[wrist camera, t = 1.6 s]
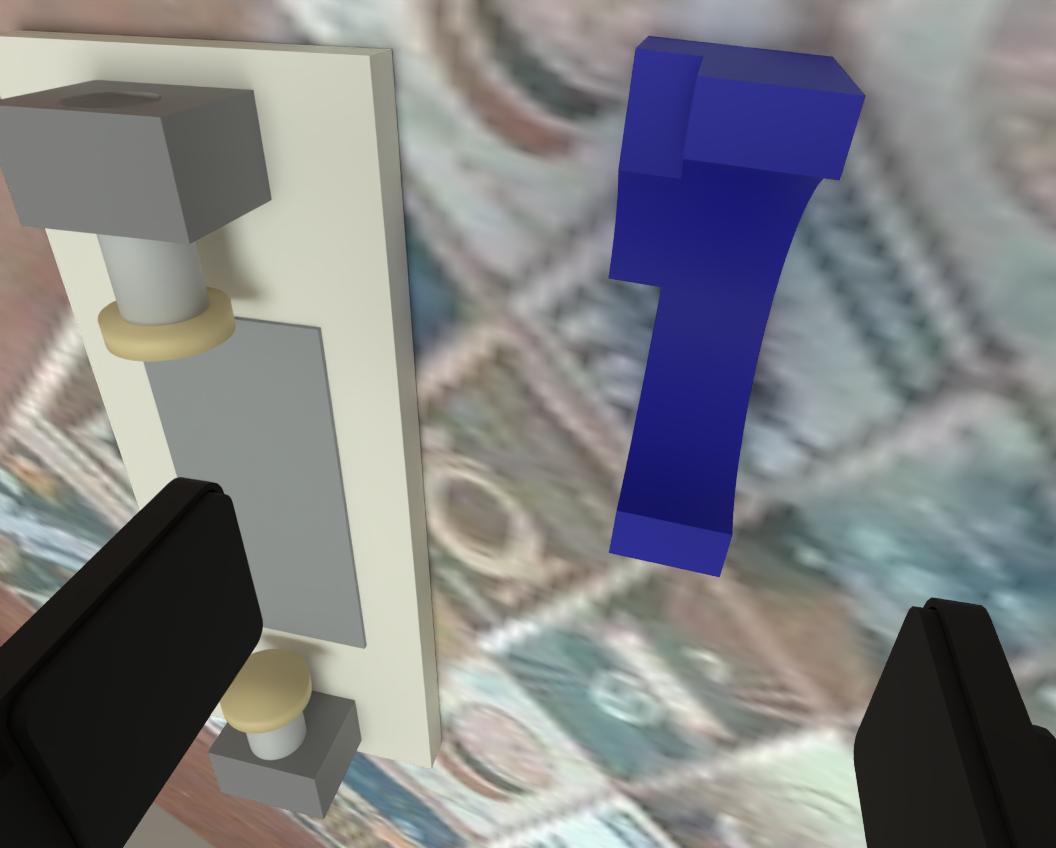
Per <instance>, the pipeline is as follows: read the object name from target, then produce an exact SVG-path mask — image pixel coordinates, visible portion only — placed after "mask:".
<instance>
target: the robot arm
mask: <svg viewBox="0 0 1056 848" xmlns="http://www.w3.org/2000/svg"><path fill="white" fill-rule="evenodd" d="M262 630H263V618H262V615H261V611H260V607H259V603H258V599H257V595H256V591H255V587H254V583H253V579H252V575H251V572H250V568H249V564H248V560H247V556H246V552H245V548H244V544H243V540H242V536H241V532H240V528H239V525H238V521H237V517H236V513H235V509H234V505H233V502H232V499H231V497H230V496H229V495H226V494H224V491H223V489H222V487H221V486H220V485H219V484H218V483H214V482H209V481H203V480H197V479H190V478H184V477H178V478H174V479H173V480H172V481H170V482H169V483H168V484H167V485H166V486H165V487H164V488H163V489H162V490H161V491H160V492H159V493H158V494H157V495H156V496H155V497H154V498H153V499H152V500H150V501H149V502H148V503H147V504H146V505H145V506H144V507H143V508H142V509H141V510H140V511H139V512H138V513H137V514H136V515H135V516H134V517H133V518H132V519H131V520H130V521H129V522H128V523H127V524H126V525H125V526H124V527H123V528H122V529H121V530H120V531H119V532H118V533H117V534H116V535H115V536H114V537H113V538H112V539H111V540H110V541H109V542H108V543H107V544H106V545H104V546H103V547H102V548H101V549H100V550H99V551H98V552H97V553H96V554H95V555H94V556H93V557H92V558H91V559H90V560H89V561H88V562H87V563H86V564H85V565H84V566H83V567H82V568H81V569H80V570H79V571H78V572H77V573H76V574H75V575H74V576H73V577H72V578H71V579H70V580H69V581H68V582H67V583H66V584H65V585H64V586H63V587H62V588H61V589H60V590H58V591H57V592H56V593H55V594H54V595H53V596H52V597H51V598H50V599H49V600H48V601H47V602H46V603H45V604H44V605H43V606H42V607H41V608H40V609H39V610H38V611H37V612H36V613H35V614H34V615H33V616H32V617H31V618H30V619H29V620H28V621H27V622H26V623H25V624H24V625H23V626H22V627H21V628H20V629H19V630H18V631H17V632H16V633H15V634H14V635H12V636H11V637H10V638H9V639H8V640H7V641H6V642H5V643H4V644H3V645H2V646H1V647H0V848H123V847H124V845H125V844H126V842H127V840H128V839H129V838H130V836H131V835H132V833H133V832H134V830H135V828H136V827H137V826H138V824H139V822H140V821H141V819H142V818H143V816H144V815H145V813H146V812H147V810H148V809H149V807H150V806H151V804H152V803H153V801H154V800H155V798H156V797H157V795H158V794H159V792H160V791H161V789H162V788H163V786H164V785H165V783H166V782H167V780H168V779H169V777H170V776H171V774H172V773H173V771H174V770H175V768H176V767H177V765H178V764H179V762H180V761H181V759H182V758H183V756H184V755H185V753H186V752H187V750H188V749H189V747H190V746H191V744H192V743H193V741H194V739H195V738H196V736H197V735H198V733H199V732H200V730H201V729H202V727H203V726H204V724H205V723H206V721H207V720H208V718H209V717H210V715H211V714H212V712H213V711H214V709H215V708H216V706H217V705H218V703H219V702H220V700H221V699H222V697H223V696H224V694H225V693H226V691H227V690H228V688H229V687H230V685H231V684H232V682H233V681H234V679H235V678H236V676H237V675H238V673H239V672H240V670H241V669H242V667H243V666H244V664H245V663H246V661H247V660H248V658H249V656H250V655H251V653H252V652H253V650H254V649H255V647H256V646H257V644H258V642H259V640H260V637H261V634H262ZM854 766H855V773H856V779H857V786H858V792H859V798H860V805H861V811H862V818H863V824H864V831H865V837H866V843H867V848H1056V739H1055V737H1054V736H1053V735H1052V734H1051V733H1050V732H1049V731H1048V730H1047V729H1046V728H1043V727H1040V726H1037V725H1032V723H1031V721H1030V718H1029V716H1028V713H1027V710H1026V708H1025V705H1024V703H1023V700H1022V698H1021V695H1020V692H1019V690H1018V687H1017V685H1016V682H1015V680H1014V677H1013V674H1012V672H1011V669H1010V667H1009V664H1008V662H1007V659H1006V657H1005V654H1004V651H1003V649H1002V646H1001V644H1000V641H999V639H998V636H997V633H996V631H995V628H994V626H993V623H992V621H991V618H990V616H989V614H988V612H987V610H986V609H985V608H984V607H983V606H982V605H976V604H970V603H964V602H958V601H951V600H945V599H939V598H930V599H929V600H928V601H927V602H926V604H925V605H924V607H923V608H921V607H914V606H912V607H911V608H910V609H909V611H908V613H907V615H906V617H905V620H904V622H903V625H902V627H901V629H900V632H899V634H898V637H897V639H896V641H895V644H894V646H893V648H892V651H891V653H890V656H889V658H888V660H887V663H886V665H885V668H884V670H883V672H882V675H881V677H880V679H879V682H878V684H877V687H876V689H875V691H874V694H873V696H872V698H871V701H870V703H869V706H868V708H867V710H866V713H865V715H864V718H863V720H862V722H861V725H860V727H859V729H858V732H857V735H856V738H855V743H854Z"/></svg>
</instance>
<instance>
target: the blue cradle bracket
mask: <svg viewBox="0 0 1056 848" xmlns="http://www.w3.org/2000/svg"><path fill="white" fill-rule="evenodd" d="M864 99H865V95H864V94H863V92H862V91H861V90H860V89H859V88H858V86H857V85H856V84H855V83H854V82H853V80H852V79H851V78H850V77H849V76H848V75H847V73H846V72H845V71H844V70H843V69H842V67H841V66H840V65H839V64H838V63H837V61H836V60H835V59H834V58H833V57H830V56H821V55H812V54H803V53H794V52H785V51H776V50H768V49H759V48H750V47H741V46H732V45H723V44H714V43H706V42H697V41H688V40H679V39H670V38H661V37H652V36H648V37H647V38H646V39H645V40H644V41H643V42H642V43H641V44H640V45H639V46H638V47H637V48H636V50H635V57H634V64H633V71H632V78H631V85H630V92H629V99H628V107H627V114H626V121H625V128H624V135H623V142H622V149H621V156H620V163H619V174H618V199H617V212H616V222H615V232H614V241H613V249H612V257H611V264H610V272H609V279H615V280H621V281H627V282H634V283H640V284H646V285H652V286H658V287H662V288H661V293H660V298H659V304H658V309H657V314H656V319H655V325H654V330H653V335H652V340H651V345H650V350H649V356H648V361H647V366H646V371H645V376H644V381H643V386H642V391H641V396H640V401H639V406H638V411H637V416H636V421H635V426H634V431H633V436H632V441H631V445H630V450H629V455H628V460H627V465H626V470H625V474H624V479H623V484H622V488H621V493H620V498H619V502H618V507H617V512H616V517H615V522H614V528H613V533H612V539H611V544H610V549H609V553H612V554H617V555H621V556H626V557H630V558H635V559H639V560H644V561H649V562H653V563H658V564H662V565H667V566H671V567H676V568H680V569H685V570H689V571H694V572H698V573H703V574H707V575H712V576H716V577H720V574H721V571H722V567H723V564H724V561H725V558H726V554H727V551H728V548H729V544H730V541H731V538H732V529H733V509H734V498H735V488H736V479H737V471H738V463H739V456H740V449H741V443H742V436H743V430H744V425H745V419H746V413H747V408H748V403H749V397H750V393H751V388H752V383H753V378H754V373H755V369H756V364H757V360H758V356H759V351H760V347H761V343H762V339H763V335H764V331H765V327H766V323H767V319H768V316H769V312H770V308H771V305H772V301H773V297H774V294H775V291H776V287H777V284H778V281H779V277H780V274H781V271H782V268H783V265H784V262H785V259H786V256H787V253H788V250H789V247H790V244H791V242H792V239H793V236H794V234H795V231H796V229H797V226H798V223H799V221H800V219H801V216H802V214H803V212H804V210H805V208H806V206H807V203H808V201H809V199H810V198H811V196H812V194H813V192H814V190H815V189H816V187H817V186H818V184H819V183H820V182H821V181H822V179H823V178H827V179H834V180H840V178H841V174H842V171H843V168H844V165H845V161H846V158H847V155H848V151H849V148H850V145H851V141H852V138H853V135H854V132H855V128H856V125H857V122H858V118H859V115H860V112H861V108H862V105H863V102H864Z"/></svg>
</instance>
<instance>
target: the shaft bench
mask: <svg viewBox="0 0 1056 848" xmlns="http://www.w3.org/2000/svg"><path fill="white" fill-rule="evenodd" d="M0 96H1V99H0V166H1V169H2V172H3V175H4V177H5V180H6V183H7V186H8V189H9V192H10V194H11V197H12V200H13V203H14V206H15V209H16V211H17V214H18V217H19V220H20V223H21V226H28V227H37V228H45V229H46V232H47V235H48V238H49V241H50V244H51V247H52V250H53V253H54V256H55V259H56V262H57V265H58V268H59V271H60V274H61V277H62V280H63V283H64V286H65V289H66V292H67V295H68V298H69V301H70V304H71V307H72V310H73V313H74V316H75V319H76V322H77V325H78V328H79V330H80V333H81V336H82V339H83V342H84V345H85V348H86V351H87V354H88V357H89V360H90V363H91V366H92V369H93V372H94V375H95V378H96V381H97V384H98V387H99V390H100V393H101V396H102V399H103V402H104V405H105V408H106V411H107V414H108V417H109V420H110V423H111V426H112V429H113V432H114V435H115V437H116V440H117V443H118V446H119V449H120V452H121V455H122V458H123V461H124V464H125V467H126V470H127V473H128V476H129V479H130V482H131V485H132V488H133V491H134V494H135V497H136V500H137V503H138V506H139V509H140V510H141V509H142V508H143V507H144V506H145V505H146V504H147V503H148V502H149V501H150V500H152V499H153V498H154V497H155V496H156V495H157V494H158V493H159V492H160V491H161V490H162V489H163V488H164V487H165V486H166V485H167V484H168V483H169V482H170V481H172V480H173V479H174V478H178V477H184V478H190V479H197V480H203V481H209V482H214V483H218V484H219V485H220V486H221V487H222V489H223V491H224V494H226V495H229V496H230V497H231V499H232V502H233V505H234V509H235V513H236V517H237V521H238V525H239V528H240V532H241V536H242V540H243V544H244V548H245V552H246V556H247V560H248V564H249V568H250V572H251V575H252V579H253V583H254V587H255V591H256V595H257V599H258V603H259V607H260V611H261V615H262V618H263V630H262V634H261V637H260V640H259V642H258V644H257V646H256V647H255V649H254V650H253V652H252V653H251V655H250V656H249V658H248V660H247V661H246V663H245V664H244V666H243V667H242V669H241V670H240V672H239V673H238V675H237V676H236V678H235V679H234V681H233V682H232V684H231V685H230V687H229V688H228V690H227V691H226V693H225V694H224V696H223V697H222V699H221V700H220V702H219V703H218V705H217V706H216V708H215V709H214V711H213V712H212V714H211V715H210V716H214V717H218V718H222V719H226V721H227V724H226V725H225V727H224V728H223V730H222V731H221V733H220V734H219V736H218V738H217V739H216V741H215V742H214V744H213V745H212V747H211V748H210V750H209V751H208V755H209V758H210V761H211V764H212V766H213V769H214V772H215V775H216V778H217V781H218V783H219V786H220V789H221V792H222V793H225V794H229V795H233V796H237V797H240V798H244V799H248V800H252V801H256V802H260V803H263V804H267V805H271V806H275V807H279V808H282V809H286V810H290V811H294V812H298V813H302V814H305V815H309V816H313V817H317V818H321V819H324V818H325V816H326V814H327V811H328V809H329V807H330V805H331V803H332V801H333V799H334V797H335V795H336V793H337V791H338V789H339V786H340V784H341V782H342V780H343V778H344V776H345V774H346V772H347V770H348V768H349V766H350V764H351V761H352V759H353V757H354V755H355V753H356V751H359V752H363V753H367V754H371V755H375V756H380V757H384V758H388V759H392V760H396V761H400V762H405V763H409V764H413V765H417V766H421V767H425V768H429V769H432V766H433V764H434V761H435V758H436V756H437V753H438V751H439V748H440V745H441V743H442V738H441V724H440V711H439V697H438V683H437V669H436V655H435V641H434V628H433V614H432V600H431V586H430V572H429V558H428V544H427V531H426V517H425V503H424V489H423V475H422V461H421V448H420V434H419V420H418V406H417V392H416V378H415V365H414V351H413V337H412V323H411V309H410V295H409V282H408V268H407V254H406V240H405V226H404V212H403V199H402V185H401V171H400V157H399V143H398V129H397V116H396V102H395V88H394V74H393V60H392V49H377V48H358V47H338V46H318V45H299V44H279V43H260V42H240V41H220V40H201V39H181V38H161V37H142V36H122V35H103V34H83V33H63V32H44V31H24V30H20V31H12V32H3V33H0Z"/></svg>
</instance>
